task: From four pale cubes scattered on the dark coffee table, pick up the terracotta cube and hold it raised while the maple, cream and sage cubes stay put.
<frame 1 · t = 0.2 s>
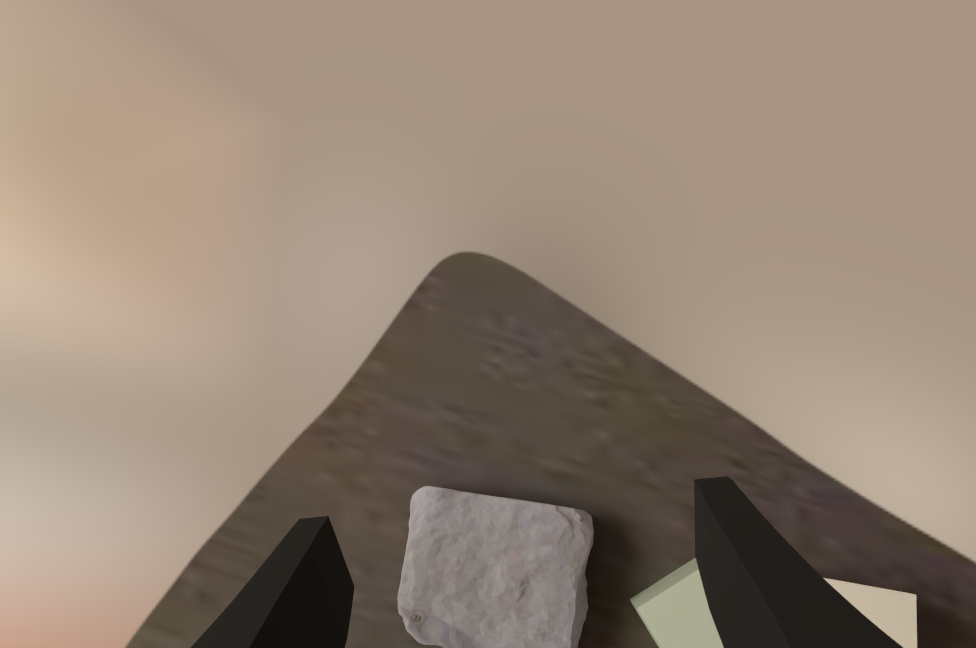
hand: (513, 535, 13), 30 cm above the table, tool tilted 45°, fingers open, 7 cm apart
sage cube: (687, 616, 39), on the table
stone block: (497, 576, 41), on the table
cream cube: (828, 623, 38), on the table
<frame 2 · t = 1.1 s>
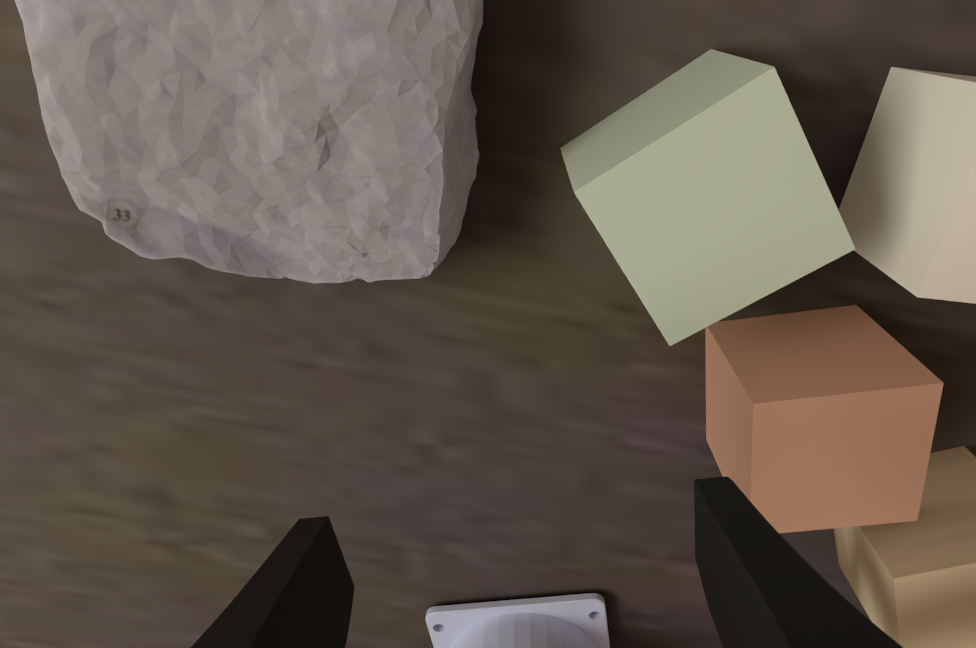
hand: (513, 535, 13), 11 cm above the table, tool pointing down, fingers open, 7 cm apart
maple cube: (896, 507, 26), on the table
sage cube: (670, 170, 20), on the table
stone block: (291, 107, 20), on the table
terracotta cube: (775, 374, 23), on the table
cream cube: (938, 163, 20), on the table
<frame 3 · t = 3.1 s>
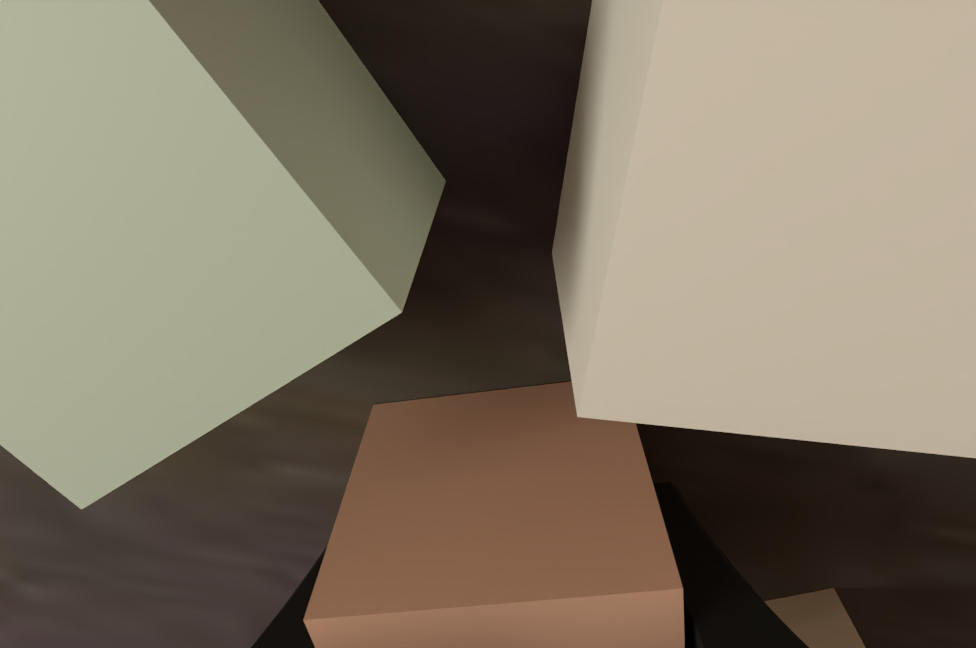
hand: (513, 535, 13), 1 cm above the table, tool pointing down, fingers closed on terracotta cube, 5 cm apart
sage cube: (237, 138, 11), on the table
terracotta cube: (512, 485, 14), on the table, touching gripper
cream cube: (728, 123, 10), on the table
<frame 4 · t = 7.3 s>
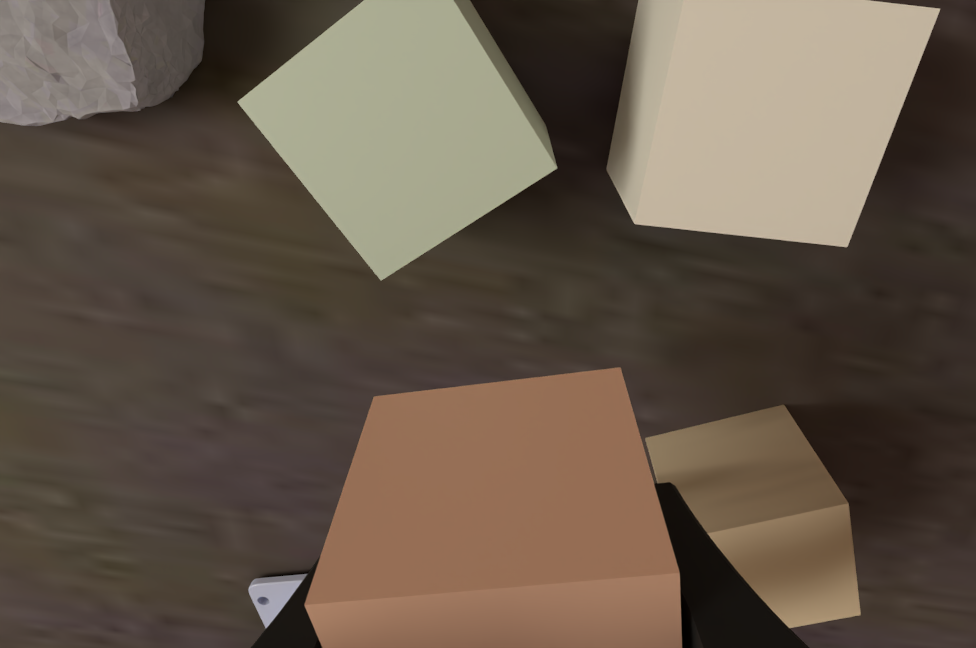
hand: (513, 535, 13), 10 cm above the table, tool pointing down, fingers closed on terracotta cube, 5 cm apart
maple cube: (723, 471, 24), on the table
sage cube: (426, 99, 18), on the table
terracotta cube: (512, 478, 14), point 8 cm above the table, touching gripper
cream cube: (710, 90, 18), on the table
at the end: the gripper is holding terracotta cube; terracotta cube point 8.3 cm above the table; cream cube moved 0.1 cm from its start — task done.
